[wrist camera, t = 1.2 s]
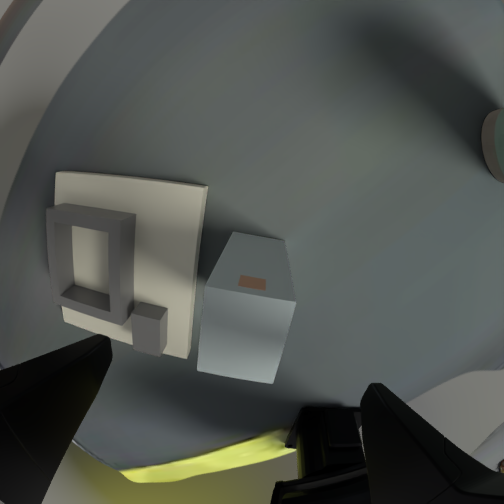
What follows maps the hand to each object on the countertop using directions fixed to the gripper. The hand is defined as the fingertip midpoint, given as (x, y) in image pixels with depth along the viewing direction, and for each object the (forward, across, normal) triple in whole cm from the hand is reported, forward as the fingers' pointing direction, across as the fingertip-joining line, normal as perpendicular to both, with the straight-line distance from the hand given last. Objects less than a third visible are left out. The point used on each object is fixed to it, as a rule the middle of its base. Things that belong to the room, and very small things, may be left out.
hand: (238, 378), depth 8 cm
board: (+10, +9, +1) cm, 14 cm away
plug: (+10, 0, 0) cm, 10 cm away
